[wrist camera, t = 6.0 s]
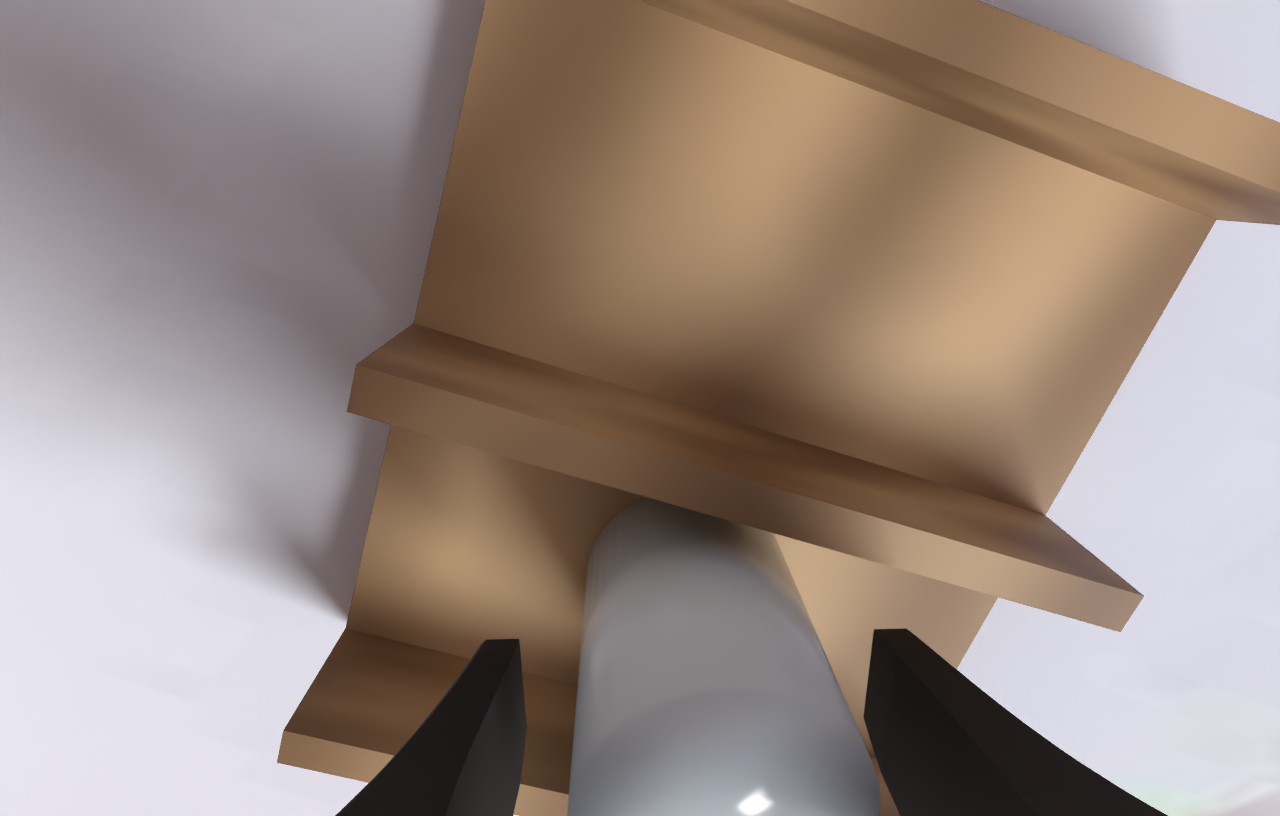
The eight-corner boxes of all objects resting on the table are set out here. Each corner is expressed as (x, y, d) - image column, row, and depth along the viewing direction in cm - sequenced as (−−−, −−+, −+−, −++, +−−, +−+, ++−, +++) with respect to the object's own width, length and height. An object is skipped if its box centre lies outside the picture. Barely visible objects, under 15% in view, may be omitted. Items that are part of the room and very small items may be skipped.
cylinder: (780, 477, 14) (884, 674, 9) (785, 648, 16) (876, 910, 10) (575, 497, 14) (547, 706, 9) (598, 665, 16) (586, 937, 10)
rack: (1198, 176, 14) (1418, 179, 10) (873, 756, 18) (939, 907, 15) (518, -86, 12) (470, -206, 8) (355, 628, 17) (276, 762, 13)
